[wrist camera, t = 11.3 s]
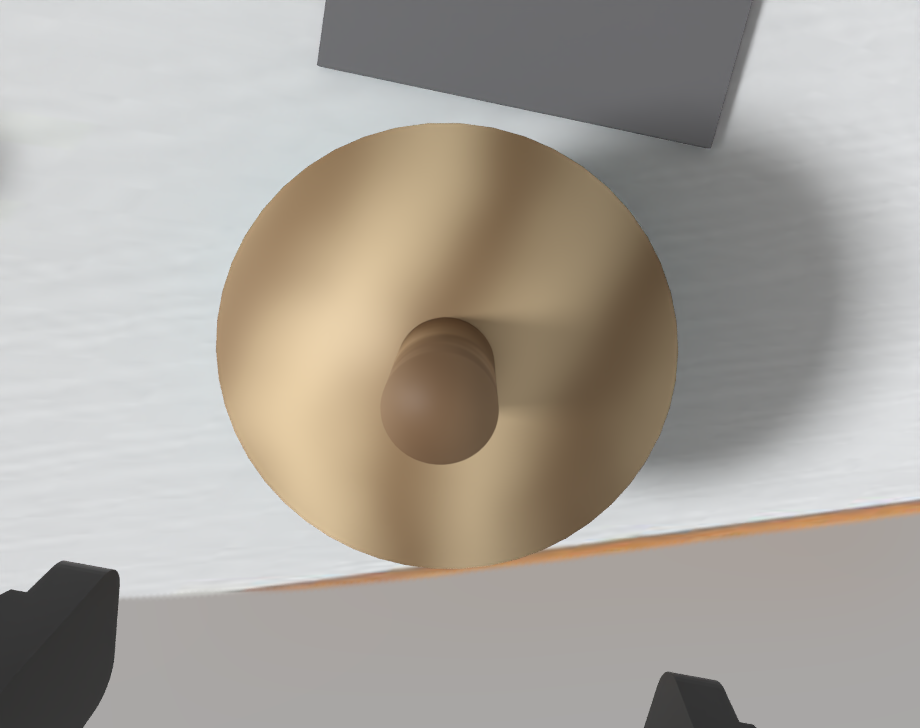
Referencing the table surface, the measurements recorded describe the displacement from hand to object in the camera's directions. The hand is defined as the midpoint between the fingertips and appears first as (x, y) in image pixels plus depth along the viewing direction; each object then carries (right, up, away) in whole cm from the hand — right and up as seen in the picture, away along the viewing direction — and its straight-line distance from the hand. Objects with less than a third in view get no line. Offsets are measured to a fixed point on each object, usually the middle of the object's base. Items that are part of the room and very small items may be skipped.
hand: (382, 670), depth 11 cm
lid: (+1, +5, +18) cm, 18 cm away
